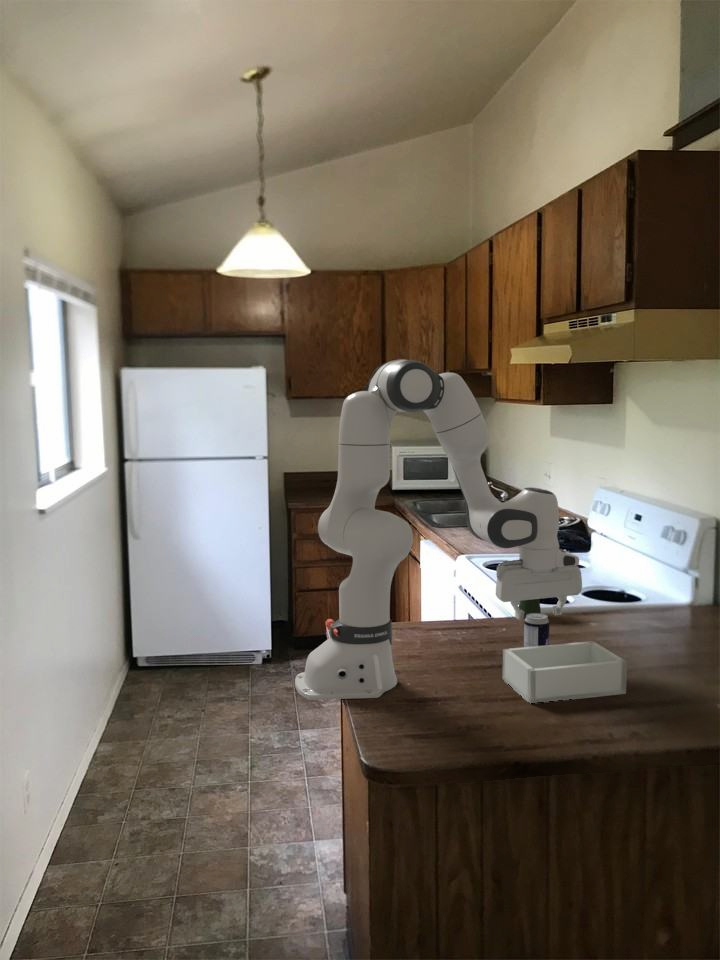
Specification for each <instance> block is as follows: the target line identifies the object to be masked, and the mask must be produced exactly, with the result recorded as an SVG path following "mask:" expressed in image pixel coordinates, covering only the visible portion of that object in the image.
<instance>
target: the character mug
mask: <svg viewBox="0 0 720 960" xmlns="http://www.w3.org/2000/svg"><path fill="white" fill-rule="evenodd" d="M540 603H541V602H540V599H532V600H521V601H520V605H518V607H519V609H520V610H522V611H524V618H526V615H527V614H530V613H541V604H540ZM541 614H542V613H541Z"/></svg>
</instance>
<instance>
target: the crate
mask: <svg viewBox="0 0 720 960" xmlns="http://www.w3.org/2000/svg"><path fill="white" fill-rule="evenodd" d="M627 673H628V661H626V659H624V658H621V657H620V656H618V655H617V654H615V653H614V652H611V651H610V650H609V649H607V648H605V647H604V646H602V645H601V644H599V643H597V642H595V641H592V640H591V641H582V642H581V641H579V642H568V643H558V644H557V643H556V644H549V645H544V646H533V647H524V646H522V647H513V648H511V647H510V648H503V649H502V673H501V674H502V679H503V680H504V681H503V680H502V679H501V680H502V681H503V682H504V683H505V684H507V685H508V684H509V685H510V686H511V687H512V688H513V689H512V688H511V687H510V686H509V685H508V686H509V687H510V688H511V689H512V690H513V691H515V693H517V694H518V695H519V696H520V695H521V696H522V697H521V696H520V697H521V698H522V699H523V700H525V701H526V702H527V703H528V702H529V703H530V704H529V703H528V704H529V705H532V704H531V703H535V704H538V703H537V702H544V703H550V702H549V701H554V702H559V701H558V700H563V701H570V700H569V699H572V700H580V699H589V698H590V699H591V698H598V697H607V696H617V695H619V696H620V695H626V694H627V678H628V677H627V675H628V674H627Z"/></svg>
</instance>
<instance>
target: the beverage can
mask: <svg viewBox="0 0 720 960" xmlns="http://www.w3.org/2000/svg"><path fill="white" fill-rule="evenodd" d="M548 617H549V616H548V615H547V614H545V613H530V614H527V615H526V617H525V618H524V619H523V620H524V624H523V626H524V628H523V631H524V632H523V647H533V646H544V645H550V620H549V618H548Z"/></svg>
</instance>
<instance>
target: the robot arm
mask: <svg viewBox="0 0 720 960" xmlns="http://www.w3.org/2000/svg"><path fill="white" fill-rule="evenodd" d="M422 411H423V413H424V414H425V415H426V416H427V418H428V419H429V422H430V424H431V427H432V429H433V431H434V434H435V436H436V438H437V441H438V442H439V444H440V446H441V449H442V450H443V452H444V454H445V455H446V457H447V459H448V460H449V463H450V465H451V467H452V470H453V473H454V475H455V478H456V481H457V483H458V485H459V488H460V490H461V493H462V497H463V499H464V503H465V519H466V526H467V528H468V531H469V532H470V533H471V534H472V536H474V537H475V538H477V539H480V540H482V541H485V542H487V543H489V544H491V545H493V546H495V547H497V548H499V549H500V548H502V549H512V548H516V547H519V548H518V549H519V551H518V552H519V553H518V555H519V559H512V560H502V562H501V563H499V564H498V565H497V566H496V583H495V584H496V585H495V596H496V597H497V599H498V600H500V601H501V602H503V603H509V602H510V605H511V606H512V607H513V610H514V611H515V612H514V614H515V619H517V620H522V619H523V620H525V615H524V611H522V610H520V609H519V605H520V601H521V600H532V599H539V600H540V599H542V600H543V599H548V598H549V599H550V598H557V599H558V601H557V603H556V605H553V606H552V614H553V615H554V616H562V614H563V607H564V606H565V604H566V603H567V599H568V597H570V596H579V595H580V594H581V592H582V589H583V582H582V581H583V579H582V578H583V577H582V571H581V568H580V566H579V564H580V557H578V555H576V554H573V553H572V552H569V551H566V550H562V549H560V543H559V540H558V531H559V529H560V514H559V513H560V512H559V503H558V502H559V501H558V499H557V496H556V494H555V493H553V492H552V491H551V490H547V489H542V488H538V487H524V488H523V489H522V490H521V491H520V492H519V493H518V494H517V495H515V496H514V497H512V498H511V499H509V500H507V501H504V502H501V501H500V500H499V499H498V498H496V497H495V496H494V494H493V493H492V491H491V489H490V486H489V483H488V481H487V478H486V475H485V473H484V470H483V467H482V463H481V459H482V455H483V453H484V452H485V451H486V449H487V448H488V445H489V441H490V436H489V435H490V434H489V431H488V426H487V423H486V420H485V418H484V415H483V413H482V410H481V408H480V406H479V403H478V402H477V399H476V397H475V396H474V394H473V393H472V391H471V389H470V388H469V386H468V384H467V383H466V382H465V380H464V379H463V377H462V376H461V375H459V374H458V373H455V372H442V373H437V372H436V371H435V370H433V369H432V368H431V367H430V366H428V365H427V364H425V363H423V362H421V361H419V360H415V359H406V358H405V359H403V358H402V359H401V358H400V359H395V360H391V361H386V362H384V363H382V364H380V365H379V366H378V367H377V368H376V369H375V370H374V371H373V373H372V375H371V377H370V378H369V381H368V382H367V384H366V386H365V388H364V389H363V390H361V391H356V392H354V393H351V394H349V395H348V396H346V397H345V399H344V400H343V403H342V407H341V411H340V412H341V413H340V419H339V428H338V456H337V457H338V461H337V462H338V464H337V479H336V480H337V481H336V486H335V490H334V494H333V497H332V500H331V502H330V504H329V506H328V507H327V508H326V509H325V510H324V511H323V512H322V514H321V515H320V518H319V520H318V524H317V532H318V536H319V538H320V540H321V541H322V543H323V544H324V545H326V546H328V547H329V548H330V549H332V550H333V551H335V552H337V553H340V554H343V555H347V556H351V557H352V565H351V570H350V573H349V575H348V576H347V577H346V578H345V579H343V580H342V581H341V583H340V585H339V587H338V602H339V603H338V606H339V607H338V608H339V610H338V611H339V612H338V614H339V618H338V619H337V620H336V621H334V620H333V619H332V618H328V619H326V621H325V627H326V628H327V630H329V631H330V633H329V634H330V637H329V638H328V639H326V640H325V641H324V642H322V644H320V645H319V646H318V647H316V648H315V649H314V650H312V651H311V652H310V653H309V654H308V656H307V658H306V661H305V667H304V671H303V672H299V673H298V674H297V675H296V676H295V679H294V687H295V690H296V692H298V694H299V695H301V696H302V697H303V698H305V699H308V700H337V699H338V700H339V699H340V700H342V699H343V700H344V699H345V700H346V699H347V700H348V699H351V700H352V699H378V698H380V697H382V696H383V694H384V693H385V692H387V691H389V690H392V689H394V688H395V687H396V686H397V684H398V678H397V676H396V672H395V667H394V661H393V654H392V646H391V645H392V643H393V624H392V619H391V618H390V614H391V613H390V612H391V611H390V609H391V608H390V606H391V604H390V603H391V585H392V582H393V577H394V574H395V572H396V569H397V568H398V566H399V564H400V562H403V560H405V558H407V556H408V555H409V554H410V553H411V550H412V547H413V543H414V533H413V529H412V527H411V525H410V524H409V522H408V521H406V520H405V519H403V518H402V517H400V516H398V515H396V514H394V513H393V512H389V511H384V510H380V509H376V508H375V507H376V501H377V497H378V495H379V492H380V490H381V489H382V488H384V487H385V486H386V485H387V484H388V483H389V480H390V477H391V430H390V429H391V426H392V422H393V419H394V417H395V416H396V414H397V413H398V412H399V413H410V412H411V413H415V412H422Z"/></svg>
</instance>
